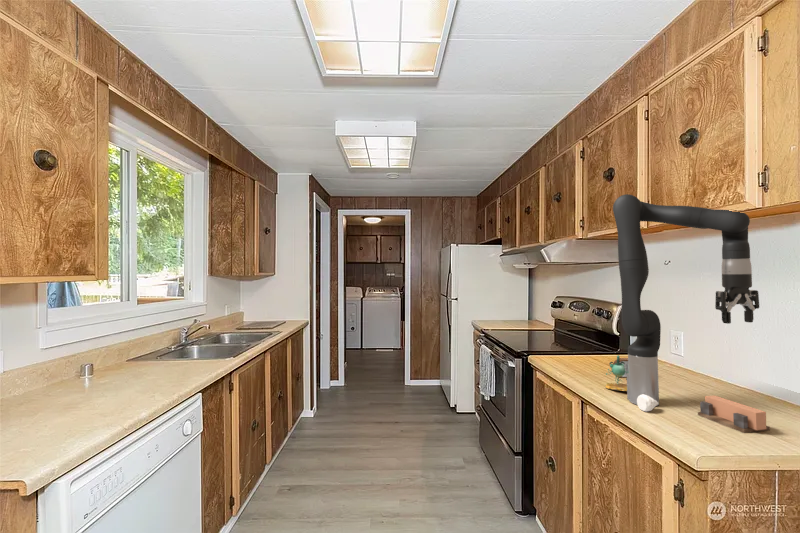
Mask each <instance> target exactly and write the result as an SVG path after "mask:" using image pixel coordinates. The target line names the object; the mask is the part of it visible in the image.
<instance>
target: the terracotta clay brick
mask: <svg viewBox="0 0 800 533" xmlns="http://www.w3.org/2000/svg"><path fill="white" fill-rule="evenodd" d="M704 398H705V400H704V401H705V402H708V403H711V404H713V414H714V415H716V416H719V417H722V418H725V419H727V420H730V421H733V422H734V419H733V413H739V414H742V415H745V416H748V427H749V428H752V429H754V430H764V429H766V426H767V411H763V410H762V409H759V408H758V409H757V408H754V407H751V406H749V405H745V404H743V403H739V402H735V401H733V400H731V399H730V400H729V399H727V398H723V397H720V396H718V395H713V394H712V395H706V396H704Z"/></svg>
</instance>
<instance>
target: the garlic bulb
mask: <svg viewBox="0 0 800 533" xmlns="http://www.w3.org/2000/svg"><path fill="white" fill-rule="evenodd" d="M656 405H658V402H657V401H656V400H654V399H653V398H651V397H650V396H647V395H644V394H642V395H640V396H638V398H637V407H638V408H639V410H641V411H643V412H651V411H652V410H653V409H655V407H657V406H656ZM658 406H659V405H658Z"/></svg>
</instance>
